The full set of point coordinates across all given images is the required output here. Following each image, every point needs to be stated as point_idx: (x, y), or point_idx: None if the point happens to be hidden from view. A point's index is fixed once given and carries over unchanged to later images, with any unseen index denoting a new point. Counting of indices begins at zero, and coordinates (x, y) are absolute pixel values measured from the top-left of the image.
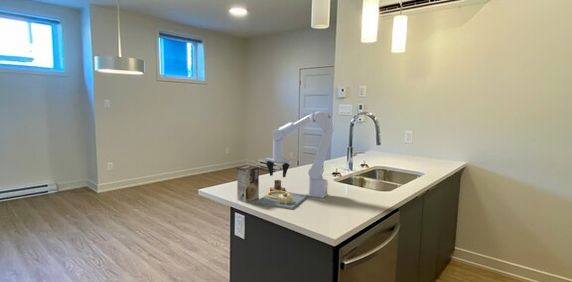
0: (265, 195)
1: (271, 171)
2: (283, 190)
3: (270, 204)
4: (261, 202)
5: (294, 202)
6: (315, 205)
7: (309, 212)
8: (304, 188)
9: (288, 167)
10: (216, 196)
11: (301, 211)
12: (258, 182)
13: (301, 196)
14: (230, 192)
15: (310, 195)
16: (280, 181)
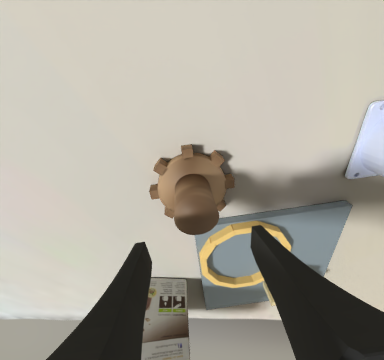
0: (200, 270)
1: (143, 290)
2: (227, 186)
3: (252, 301)
4: (226, 306)
5: (315, 269)
6: (378, 240)
7: (358, 280)
8: (322, 38)
9: (349, 294)
10: (72, 318)
11: (337, 284)
12: (189, 349)
13: (332, 217)
14: (60, 286)
15: (368, 176)
16: (218, 218)
